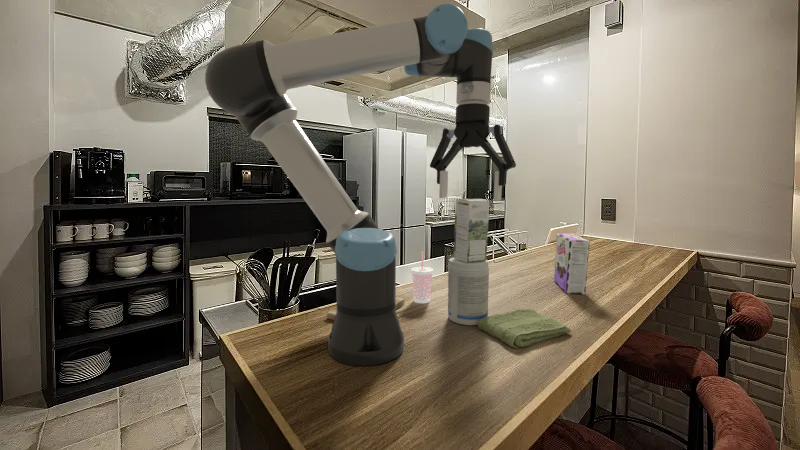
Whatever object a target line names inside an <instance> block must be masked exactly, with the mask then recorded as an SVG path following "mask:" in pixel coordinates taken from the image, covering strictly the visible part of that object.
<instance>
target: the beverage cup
mask: <svg viewBox="0 0 800 450" xmlns="http://www.w3.org/2000/svg"><path fill="white" fill-rule="evenodd" d="M410 271H411V273H412V275H411V276H412V294H413V302H415V303H416V304H428V303H430V302H431V293H432V280H433V273H434V268H433V267H429V266H424V251H422V250H421V266H415V267H411V269H410Z"/></svg>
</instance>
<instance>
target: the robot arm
mask: <svg viewBox="0 0 800 450" xmlns="http://www.w3.org/2000/svg"><path fill="white" fill-rule="evenodd" d="M468 24H469V23H468V20H467V17H466V14H465V13H464V11H463V10H462V9H461V8H460V7H458V6H457V5H455V4H452V3H441V4H439V5H437V6H436V7H434V8H433V9H432V10H431V11H430V12H429V14H427V15H425V16H424V15H423V16H420V17H415V18H411V19H405V20H401V21H400V20H399V21H395V22H394V21H393V22H389V23H385V24H380V25H379V24H378V25H374V26H373V25H372V26H367V27H363V28H358V29H351V30H347V31H342V32H335V33H331V34H326V35H325V34H323V35H320V36H315V37H310V38H304V39H298V40H293V41H288V42H281V43H277V44H274V43H272V42H271V41H269V40H268V39H263V40H257V41H256V40H255V41H251V42H246V43H241V44H238V45H233V46H231V47H227V48H225V49H223V50H221V51H219V52H218V53H216V54H215V55H213V57H212V58H211V59H210V61H209V63H208V64H207V66H206V70H205V74H204V76H205V78H204V79H205V81H204V83H205V86H206V90H207V92H208V94H209V95H208V96H209V97H210V98H211V99H212V101H213V102H214V103H215V104H216V105H217V107H219V108H220V109H222V110H223V111H225V112H227V113H229V114H231V115H233V116H234V117H235V118H236V119H237V121H238V122H239V124H240V125H241V126H242V127H243V130H244V131H246V133H247V134H248V136H249V137H250V138H251V140H252V141H258V142H261V143H262V144H264V146H265V147H266V149H267V150H268V151H269V153H270V154H271V156H272V157H273V158H274V160H275V161H276V163H277V164H278V165H279V167H280V169H282V171H283V173H285V175H286V177H288V179H289V181H290V182H291V183H292V185H293V187H294V188H296V190H297V192H298V193H299V195H300V196H301V197H302V198H303V200H304V202H305V203H306V204H307V206H308V207H309V208H310V210H311V211H312V213H313V215H315V217H316V218H317V219H318V221H319V222H320V224H321V226H323V229H325V231H326V240H325V242H326V244H327V245H328V246H329V248H330V249H331V250H332V252H333V253H334V255H335V276H336V277H335V281H336V285H335V286H336V288H335V289H336V291H335V293H336V308H337V312H336V316H335V319H334V320H333V323H332V325H331V331H330V333H329V336H328V338H327V339H328V340H327V346H328V347H327V350H328V354H329V356H330V357H331V358H333V359H334V360H336V361H337V362H340V363H342V364H346V365H350V366H362V367H364V366H365V367H366V366H374V365H375V366H376V365H382V364H386V363H388V362H391V361H393V360H394V359H397V358H398V357H399V356H400V355H402V353H403V352H404V349H405V336H404V333H403V331H402V327H401V324H400V321H399V320H400V319H399V317H398V314H397V309H396V308H395V300H396V297H397V296H396V295H397V293H396V288H397V286H396V284H397V283H396V280H397V278H396V275H397V274H396V273H397V271H396V269H397V267H396V266H397V264H396V263H397V262H396V261H397V257H396V256H397V254H398V249H397V248H398V247H397V244H396V243H397V242H396V238H395V236H394V234H393V233H391V232H390V231H387V230H384V229H381V228H379V226H378V225H377V224H376V222H375V221H374V219H373V218H372V217H371V215H370V214H369V212H367V211H362V210H359V209H358V207H357V206H356V204H355V203H354V202H353V201H352V199H351V198H350V196H349V195H348V193H347V192H346V190H345V189H344V187H343V185H341V183H340V182H339V180H338V179H337V178H336V176H335V175H334V173H333V172H332V170H331V169H330V167H329V166H328V165H327V163H326V162H325V160H324V159H323V157H322V155H320V153H319V151H318V150H317V149H316V148H315V146H314V144H313V143H312V141H311V140H310V139H309V137H308V136H307V134H306V133H305V131H304V130H303V129H302V127H301V126H300V124H299V123H298V122H297V116H298V109H297V108H296V106H295V105H294V103H293V102H292V100H291V99H290V98H289V96H288V95H287V93H286V92H287V91H288V90H291V89H296V88H301V87H306V86H312V85H316V84H321V83H322V84H323V83H327V82H331V81H336V80H342V79H347V78H351V77H356V76H357V77H358V76H361V75H362V76H363V75H366V74H371V73H376V72H381V71H382V72H383V71H387V70H392V69H397V68H400V67H404V68H403V69H404V73H405V74H406V75H408V76H414V77H419V78H422V77H430V78H431V77H435V78H455V79H456V101H455V102H456V105H457V106H456V107H455V128H454V129H452V128H451V129H450V128H448V127H447V128H446V127H444V128H443V129H442V135H441V139H440V141H439V144H438V145H437V148H436V150H435V152H434V155H433V157H432V159H431V161H430V164H429V168H432V169H434V170H436V184H437V185H439V194H438V195H439V196H438V198H439V199H447V198H448V192H449V191H448V186H449V185H448V184H449V171H448V170H446V169H447V168H448V167H449V165H450V164H451V163H452V162H453V160H454V159H455V158H456V156H457V155H458V154H459V153H460V151H461V150H463V148H465V149H466V148H472V147H474V148H482V149H483V150H484V152H485V153H486V154H487V156H488V158H490V160H491V161H492V162H493V163H494V165H495V166H496V168H498V169H497V170H494V185H493V201H494V202H498V201H499V202H501V201H502V194H503V193H502V190H503V189H502V188H503V187H504V186H506V184H507V176H508V175H507V174H508V173H507V172H508V171H509V170H510V169H514V168H516V166H517V164H516V161H515V159H514V156H513V155H512V152H511V149H510V148H509V145H508V143H507V140H506V139H505V136H504V127H503V126H502V125H500V124H495V125H494V126H490V110H491V107H490V106H489V104H490V103H491V87H492V86H491V82H492V81H491V80H492V68H493V67H492V65H493V57H494V56H493V55H494V52H493V46H494V45H493V37H492V35H493V34H492V33H491V32H490V31H489V30H487V29H485V28H481V27H478V28H477V27H476V28H469V27H468V26H469V25H468ZM490 134H491V135H492V136H493V137H494V139H495V141H496V143H497V145H498V148H499V150H500V153H501V156H502V158H503V159H502V158H501V156H500V155H499V154H498V153H497V151H496V150H495V148H494V147H493V146H492V144H491V143H490V141H489V140H488V137H489V136H490ZM454 136H455V138H456V139H455V140H454V142H453V143H452V144H451V147H450V148H449V145H450V143H451V140H452V139H453V138H454ZM448 148H449V150H448V151H447V149H448ZM503 160H504V161H503Z"/></svg>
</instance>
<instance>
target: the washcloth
mask: <svg viewBox="0 0 800 450" xmlns="http://www.w3.org/2000/svg"><path fill="white" fill-rule="evenodd" d="M477 324H478V325H476V326H477V327H478V329H479V330H481V331H482V332H485V333H487V334H489V335H490V336H491V337H495V338H496V339H498V340H500V341H501V342H502V343H505V344H506V345H508V346H509V347H511V348H514V349H520V348H525V347H527V346H528V347H530V346H532V345H535V344H539V343H542V342H544V341H548V340H549V339H550V340H551V339H554V338H556V337H559V336H564V335H567V334H569V333H571V332H572V330H571V328H569V326H566V324H564V323H562V322H560V321H557V320H555V319H554V317H551V316H549V315H547V314H542V313H539V312H538V311H537V310H535V309H532V308H526V309H522V308H521V309H516V310H512V311H507V312H505V313H501V314H493V315H490V316H489V315H488V317H484V318H483V319H481V320H479V322H478V323H477Z"/></svg>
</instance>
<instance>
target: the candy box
mask: <svg viewBox="0 0 800 450" xmlns="http://www.w3.org/2000/svg"><path fill="white" fill-rule="evenodd" d="M555 240H556V243H555V259H554V260H555V261H554V274H553V275H554V276H553V281H554V283H555V284H556V285H557V286H558V287H559V288H560V289H561V290H562V291H563V292H564V293H565V294H568V295H569V294H571V295H583V296H584V295H586V290H587V279H588V267H589V265H588V264H589V255H590V254H589V253H590V243H591V242H590V240H588V239H586V238H583V237H581V236H579V235H577V234H576V233H567V232H566V233H565V232H564V233H561V232H560V233H559V232H558V233H556V239H555Z"/></svg>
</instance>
